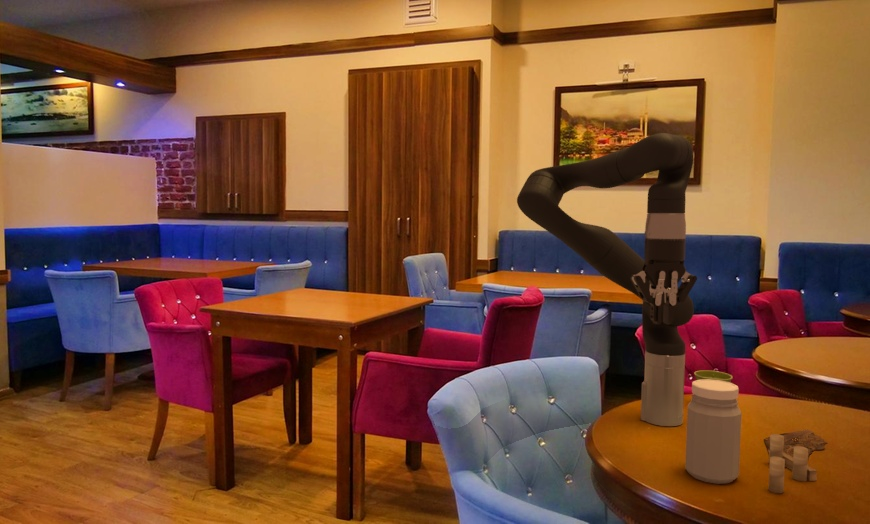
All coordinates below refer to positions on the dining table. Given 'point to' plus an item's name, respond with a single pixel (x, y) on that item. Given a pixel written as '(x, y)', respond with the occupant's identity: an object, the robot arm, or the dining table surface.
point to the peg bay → (787, 464)
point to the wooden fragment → (800, 442)
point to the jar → (713, 432)
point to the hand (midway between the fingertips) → (662, 323)
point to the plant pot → (712, 375)
